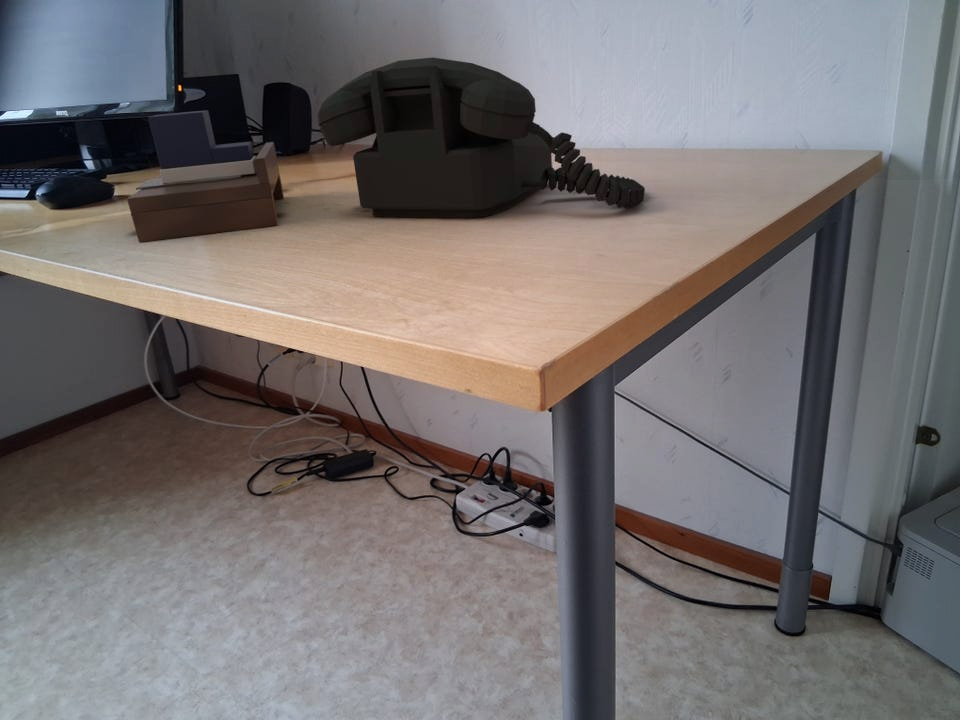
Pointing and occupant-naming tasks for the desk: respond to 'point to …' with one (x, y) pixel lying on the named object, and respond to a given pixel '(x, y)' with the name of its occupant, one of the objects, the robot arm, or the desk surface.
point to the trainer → (196, 149)
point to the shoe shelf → (208, 203)
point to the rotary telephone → (455, 142)
